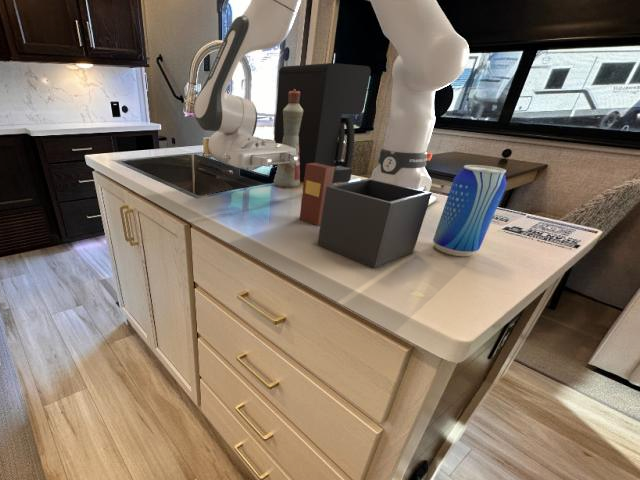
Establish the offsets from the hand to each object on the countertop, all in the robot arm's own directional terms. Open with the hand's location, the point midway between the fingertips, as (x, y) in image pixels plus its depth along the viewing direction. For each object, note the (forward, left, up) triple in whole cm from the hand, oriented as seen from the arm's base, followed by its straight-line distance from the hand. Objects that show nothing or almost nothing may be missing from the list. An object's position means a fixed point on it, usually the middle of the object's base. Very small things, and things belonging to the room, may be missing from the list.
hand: (282, 161), depth 85 cm
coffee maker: (-39, -23, -12) cm, 47 cm away
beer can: (-11, +41, -12) cm, 44 cm away
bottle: (-21, -19, -12) cm, 31 cm away
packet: (0, +12, -12) cm, 17 cm away
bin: (+4, +30, -12) cm, 33 cm away
